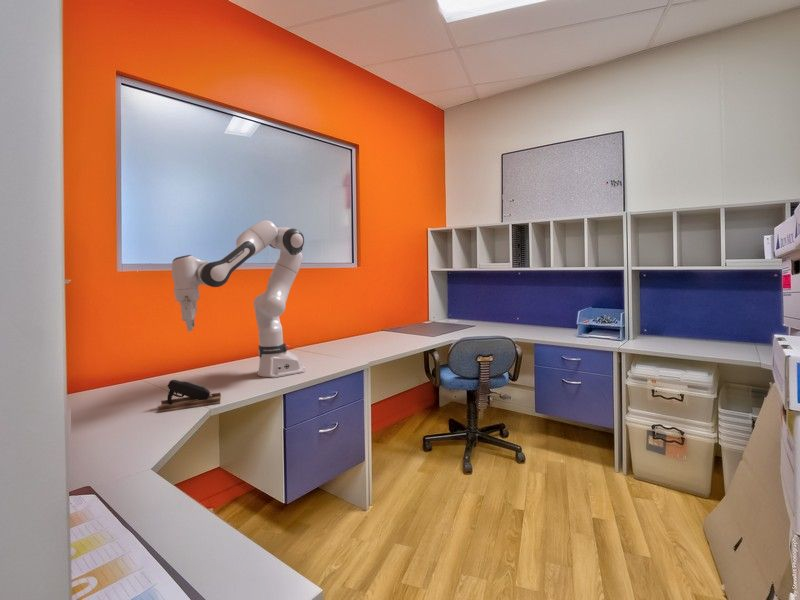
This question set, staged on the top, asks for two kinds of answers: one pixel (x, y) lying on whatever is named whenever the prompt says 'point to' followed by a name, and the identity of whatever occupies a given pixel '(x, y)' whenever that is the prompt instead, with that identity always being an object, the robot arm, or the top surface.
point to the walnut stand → (188, 403)
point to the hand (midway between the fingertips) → (191, 329)
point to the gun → (187, 390)
